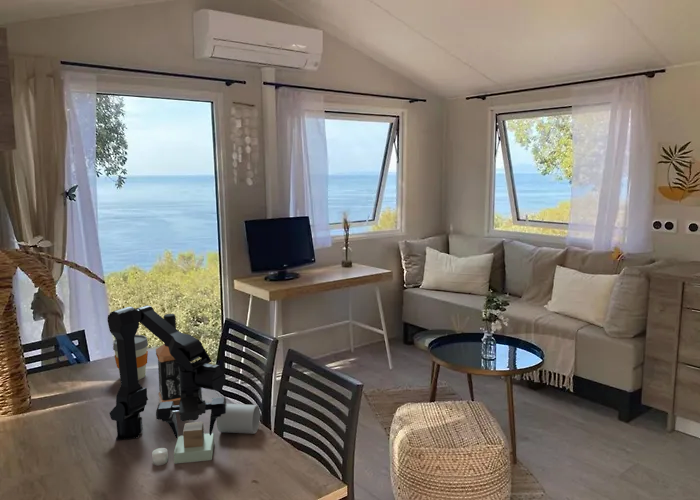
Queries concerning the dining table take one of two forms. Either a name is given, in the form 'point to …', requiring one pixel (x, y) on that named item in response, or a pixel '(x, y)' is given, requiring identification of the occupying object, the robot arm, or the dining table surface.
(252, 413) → the mug
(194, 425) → the walnut cube
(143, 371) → the reusable coffee cup
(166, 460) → the cream tealight
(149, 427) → the dining table surface
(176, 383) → the whiskey bottle
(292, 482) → the dining table surface
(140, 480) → the dining table surface
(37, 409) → the dining table surface
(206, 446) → the base slab
